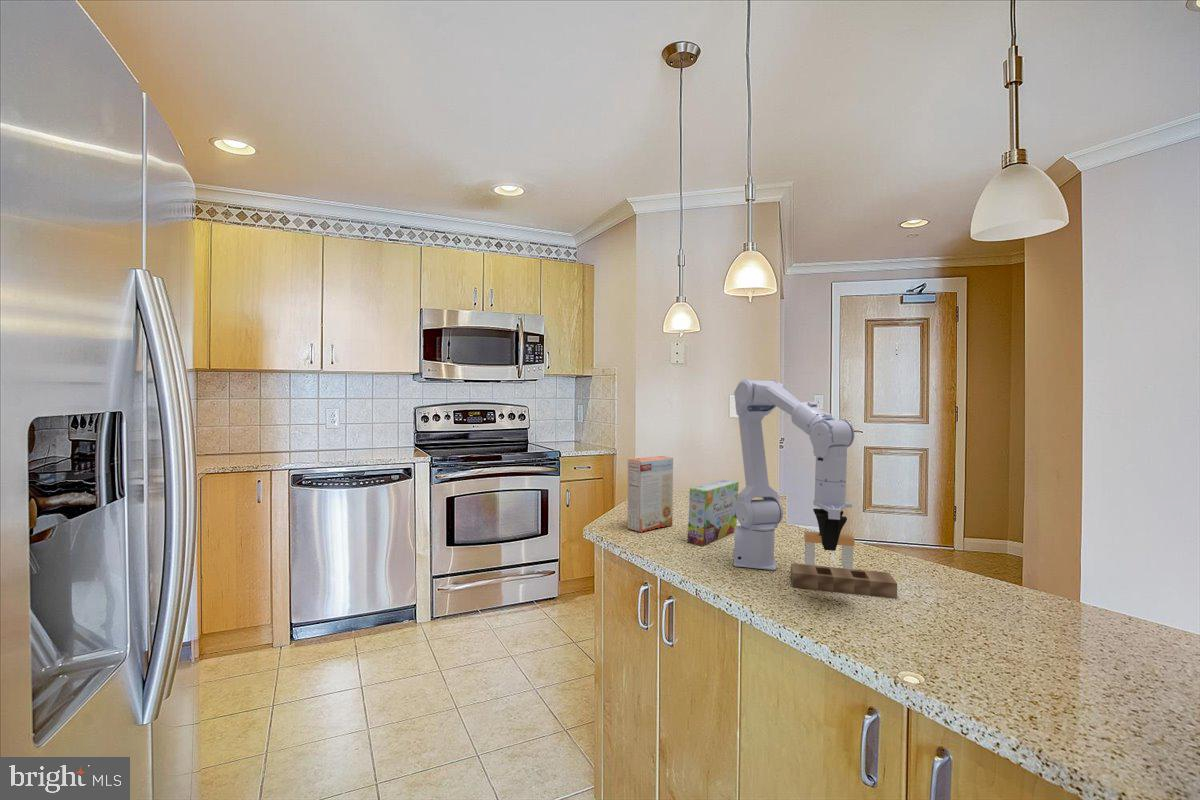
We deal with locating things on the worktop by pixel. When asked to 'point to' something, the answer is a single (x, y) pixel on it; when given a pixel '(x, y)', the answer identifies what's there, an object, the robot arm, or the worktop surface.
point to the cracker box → (650, 493)
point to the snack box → (712, 511)
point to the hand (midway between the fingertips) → (828, 547)
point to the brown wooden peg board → (843, 580)
